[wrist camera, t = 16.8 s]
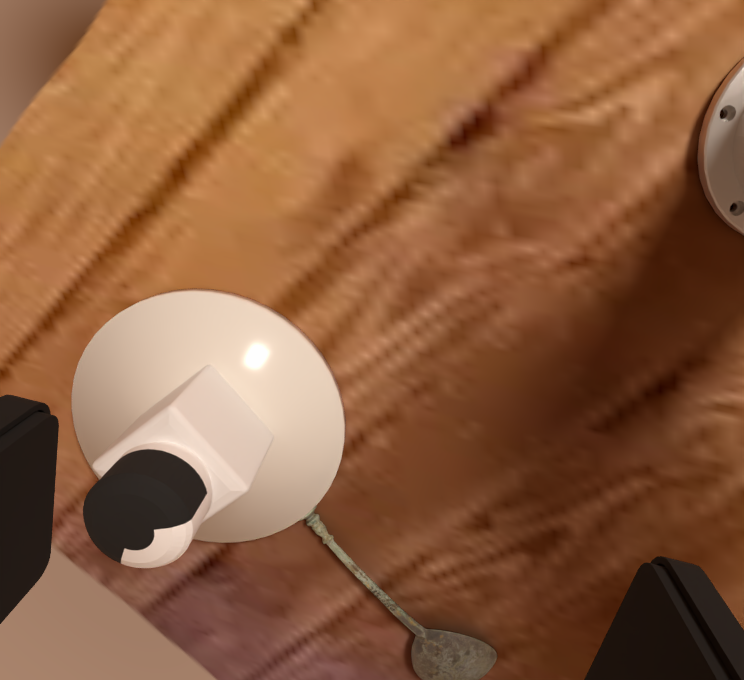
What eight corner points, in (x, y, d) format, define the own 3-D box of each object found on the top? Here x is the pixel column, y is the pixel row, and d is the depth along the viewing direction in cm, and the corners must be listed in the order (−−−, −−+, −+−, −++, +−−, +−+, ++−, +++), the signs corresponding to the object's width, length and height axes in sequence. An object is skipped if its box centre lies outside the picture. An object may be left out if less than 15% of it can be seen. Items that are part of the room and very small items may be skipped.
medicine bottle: (140, 415, 42) (37, 516, 30) (211, 361, 40) (130, 446, 29) (206, 485, 43) (132, 606, 32) (277, 436, 42) (225, 545, 30)
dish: (374, 328, 40) (372, 333, 39) (315, 558, 46) (313, 568, 45) (90, 257, 39) (81, 260, 38) (72, 498, 46) (63, 507, 45)
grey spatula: (448, 686, 51) (508, 648, 50) (452, 722, 48) (517, 683, 46) (276, 525, 46) (338, 479, 44) (269, 554, 43) (335, 504, 41)
